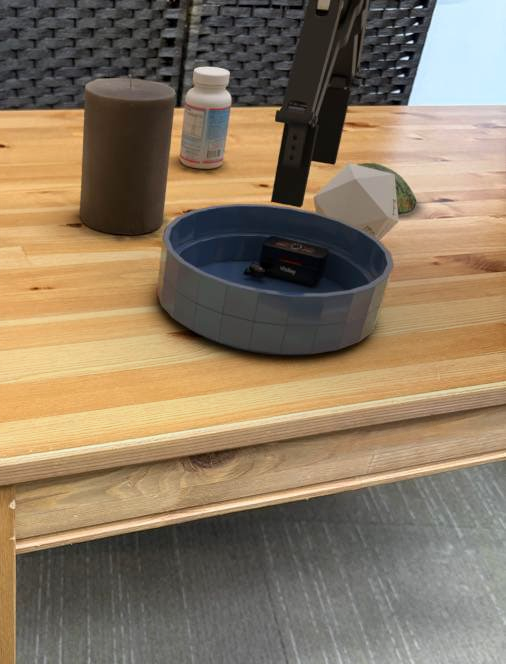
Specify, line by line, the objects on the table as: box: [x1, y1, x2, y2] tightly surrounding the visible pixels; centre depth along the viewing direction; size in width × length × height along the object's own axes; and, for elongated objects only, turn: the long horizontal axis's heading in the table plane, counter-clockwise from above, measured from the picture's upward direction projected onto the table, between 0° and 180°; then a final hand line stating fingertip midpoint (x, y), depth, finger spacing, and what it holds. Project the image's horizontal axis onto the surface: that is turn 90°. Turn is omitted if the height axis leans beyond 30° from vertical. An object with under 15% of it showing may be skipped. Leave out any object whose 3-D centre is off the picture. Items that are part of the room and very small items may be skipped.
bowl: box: [156, 203, 395, 356], centre depth 78 cm, size 21×21×6 cm
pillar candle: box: [79, 74, 176, 236], centre depth 89 cm, size 10×10×15 cm
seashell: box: [356, 162, 417, 214], centre depth 103 cm, size 10×4×10 cm
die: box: [313, 162, 399, 242], centre depth 90 cm, size 8×9×10 cm
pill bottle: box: [179, 66, 232, 170], centre depth 108 cm, size 6×6×11 cm
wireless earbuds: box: [243, 236, 329, 287], centre depth 82 cm, size 5×7×3 cm, turn 62°
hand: (305, 181), depth 77 cm, fingers open, 13 cm apart
